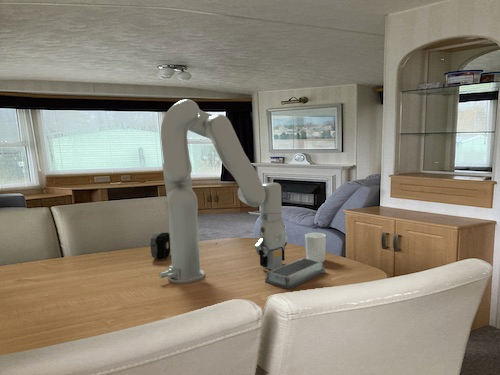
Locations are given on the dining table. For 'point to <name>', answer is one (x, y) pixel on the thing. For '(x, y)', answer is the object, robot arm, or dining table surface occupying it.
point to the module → (274, 258)
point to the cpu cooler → (160, 245)
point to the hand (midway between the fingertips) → (272, 262)
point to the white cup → (315, 246)
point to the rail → (295, 273)
